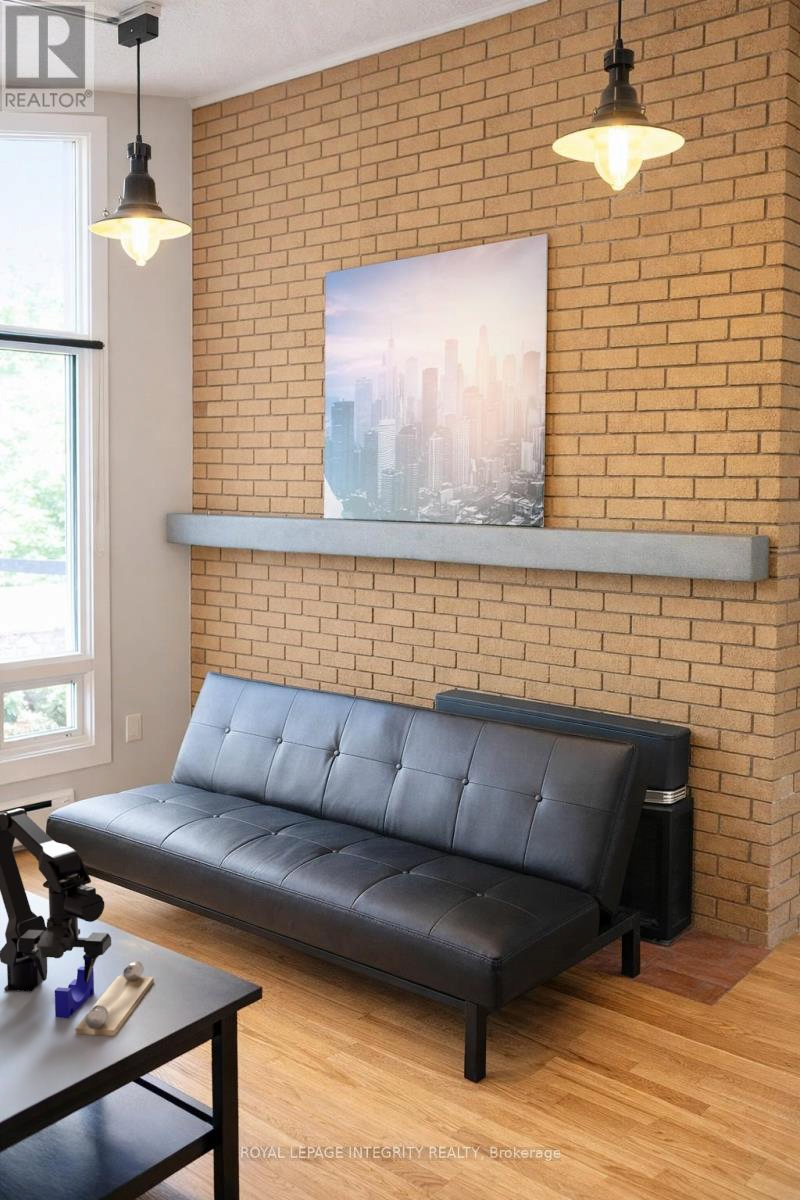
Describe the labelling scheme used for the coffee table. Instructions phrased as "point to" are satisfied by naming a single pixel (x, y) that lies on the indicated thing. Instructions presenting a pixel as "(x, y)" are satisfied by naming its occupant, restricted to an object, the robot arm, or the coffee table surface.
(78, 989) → the cable clip
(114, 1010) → the light wooden board
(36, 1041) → the coffee table surface
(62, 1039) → the coffee table surface
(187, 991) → the coffee table surface
